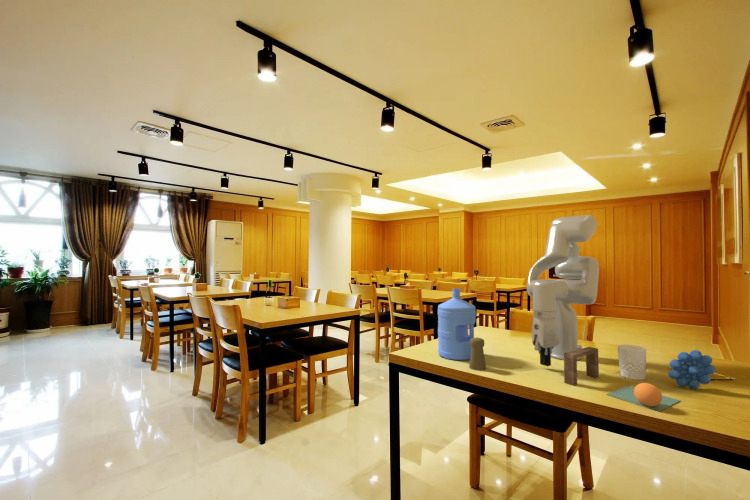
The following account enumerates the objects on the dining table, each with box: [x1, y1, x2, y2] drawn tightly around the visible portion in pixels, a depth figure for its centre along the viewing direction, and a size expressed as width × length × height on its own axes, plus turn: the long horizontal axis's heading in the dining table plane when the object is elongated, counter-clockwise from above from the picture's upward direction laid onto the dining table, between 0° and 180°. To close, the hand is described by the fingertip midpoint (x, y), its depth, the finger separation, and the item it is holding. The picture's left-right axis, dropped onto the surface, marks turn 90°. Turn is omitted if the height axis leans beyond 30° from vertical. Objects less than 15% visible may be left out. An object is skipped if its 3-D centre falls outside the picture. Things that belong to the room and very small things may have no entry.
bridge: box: [563, 346, 600, 386], centre depth 113 cm, size 3×15×10 cm, turn 120°
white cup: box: [617, 344, 647, 381], centre depth 116 cm, size 8×8×10 cm
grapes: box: [668, 349, 717, 390], centre depth 106 cm, size 12×7×12 cm, turn 71°
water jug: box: [437, 288, 477, 361], centre depth 143 cm, size 16×16×28 cm
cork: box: [468, 337, 487, 371], centre depth 126 cm, size 6×6×11 cm
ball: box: [634, 382, 662, 407], centre depth 93 cm, size 6×6×6 cm
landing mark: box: [606, 385, 681, 412], centre depth 98 cm, size 13×13×1 cm
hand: (545, 364), depth 124 cm, fingers closed
